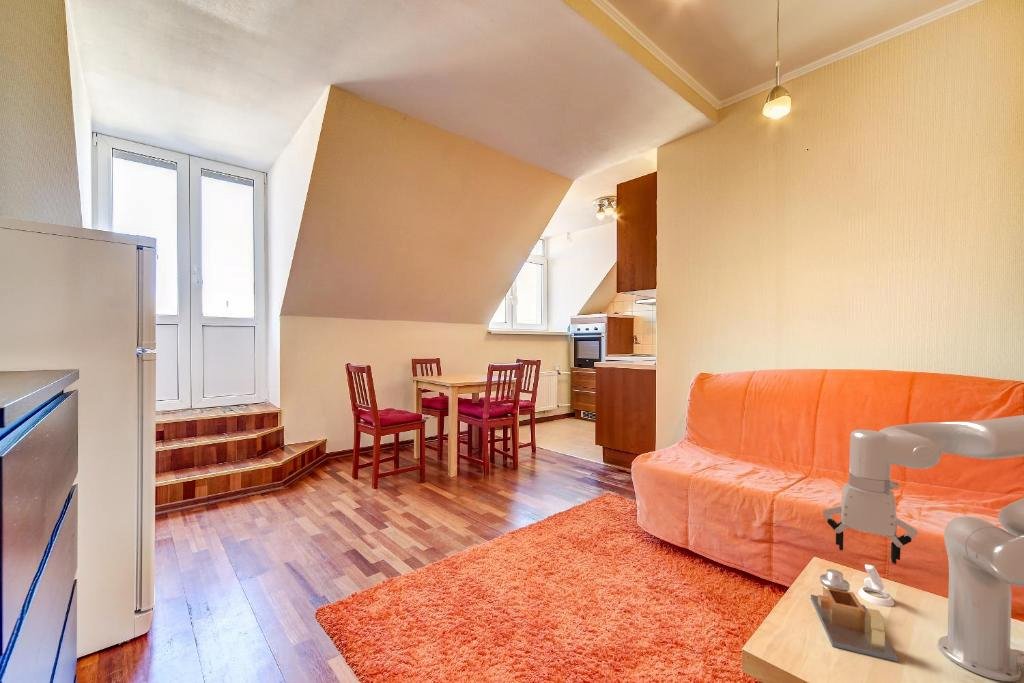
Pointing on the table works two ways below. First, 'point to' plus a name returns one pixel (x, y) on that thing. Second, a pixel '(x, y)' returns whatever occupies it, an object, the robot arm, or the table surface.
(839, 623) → the tray with wooden box
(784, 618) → the table surface
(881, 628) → the pale yellow block
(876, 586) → the hook
